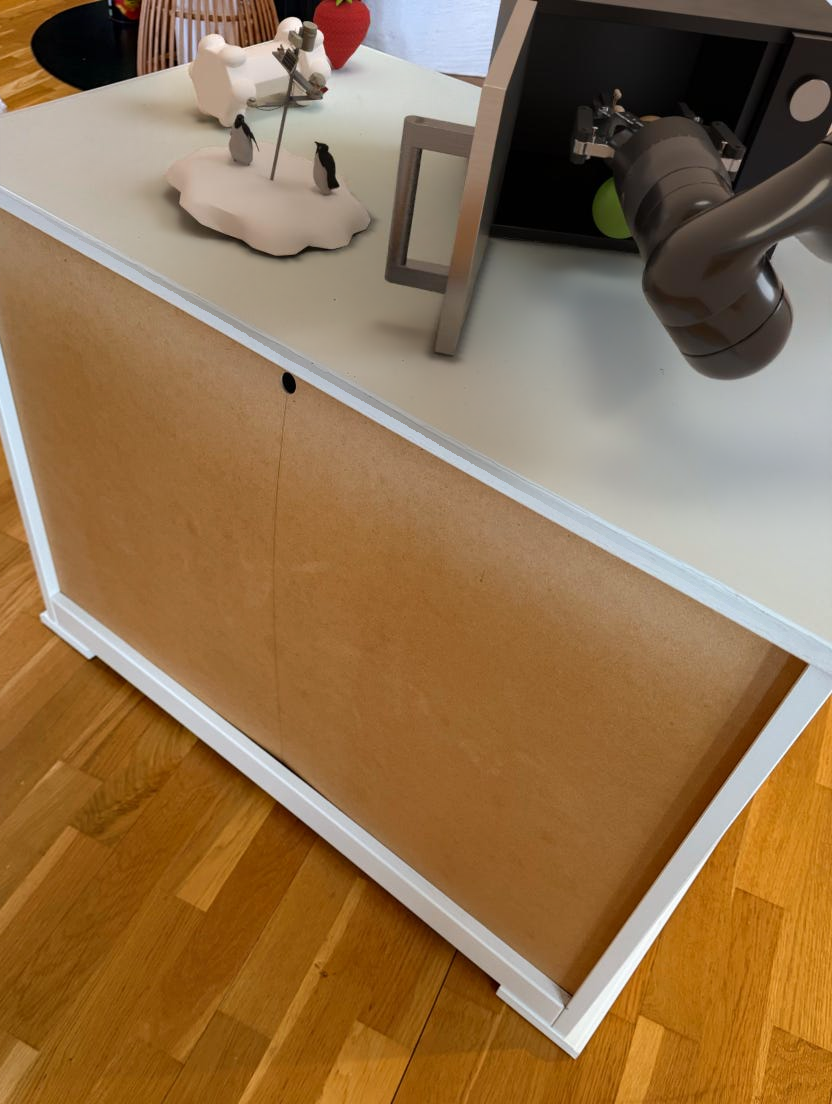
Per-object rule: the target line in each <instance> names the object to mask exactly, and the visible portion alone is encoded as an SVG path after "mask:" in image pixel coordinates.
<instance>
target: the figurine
mask: <svg viewBox="0 0 832 1104" xmlns="http://www.w3.org/2000/svg"><path fill="white" fill-rule="evenodd" d="M317 28H318V27H317V25H316V24H314V22H312V21H306V20H305V21H303V22H302V27H300V28H299V34H297V33H296V32H295V31H296V29H295V31H294V30H290V31H289V35H288V40H289V41H290V42H291V43H292V44H291V43H290V44H291V45H294V46H295V47H296V49H294V50H292V51H295V52H294V53H293V52H292V51H291V50H290V49H289V48H288V49H287V50H286V52H284V50H285V49H284V48H283V47H282V44H280V47H282V48H277V51H272V54H273V55H274V57H275V58H276V59H277V60H278V61H279V62H280V64H281V65H282V66H283V67H284V68H285V69H286V71H287V75H288V74H290V75H288V77H290V79H289V78H288V79H289V85H288V90H287V94H286V95H285V98H284V101H257V99H255V98H254V97H249V99H247V102H246V104H247V106H248V107H249V108H253V109H257V110H261V111H265V112H267V111H268V112H270V111H274V110H277V109H279V108H283V111H282V116H281V121H280V127H279V130H278V131H279V132H278V137H277V142H276V144H274V143H270V142H266V141H260V142H258V143H257V140H256V138H255V135H254V133H253V132H252V131H251V128H250V127H249V125H248V123H246V122H245V117H244V116H243V115H242V114H238V115H237V116H236V119H235V122H234V123H233V125H232V127H231V130H230V132H229V133H230V134H229V135H230V138H229V141H228V146H216V145H215V146H209V147H204V148H200V149H196V150H194V151H193V152H192V153H190V154H188V155H187V156H185V157H183V158H181V159H179V160H176V161H174V162H173V163H172V164H171V165H170V166H169V168H168V169H167V170H166V171H165V173H164V174H163V177H164V178H165V180H166V181H167V182H168V183H169V185H171V186H172V187H174V189H176V190H177V191H179V193H180V196H179V204H178V205H180V206H181V207H182V208H183V209H184V210H185V211H186V212H187V213H189V214H190V215H191V216H192V218H194V219H195V220H196V221H197V222H198V223H199V224H200V225H203V226H205V227H207V228H209V229H212V230H214V231H217V232H220V233H222V234H224V235H228V236H230V237H232V238H233V237H234V238H236V239H238V240H241V241H243V242H245V243H246V244H247V245H249V247H251V248H253V249H255V250H258V251H262V252H264V253H267V254H269V255H273V256H275V257H276V256H289V255H290V256H291V255H296V254H298V253H299V252H301V251H302V250H303V249H305V248H307V247H308V246H309V247H316V248H321V249H328V250H335V249H339V248H343V247H346V246H349V244H350V242H351V240H352V237H353V235H354V234H356V233H359V232H362V231H364V230H367V229H368V227H369V224H370V222H371V218H370V215H369V213H368V210H367V208H365V206H364V205H363V204H362V203H361V202H360V201H359V200H358V199H357V198H356V197H355V196H354V195H353V194H352V193H351V192H350V188H349V187H350V186H349V183H348V180H347V179H346V178H345V177H344V176H342V175H341V174H339V173H338V172H336V169H337V168H336V161H335V159H334V156H333V155H332V153H331V152H329V151H330V150H329V149H330V147H329V145H328V144H327V143H324V142H319V141H315V140H314V144H315V145H316V149H315V153H314V158H313V159H314V160H313V161H312V160H309V159H306V158H304V157H302V156H298V155H297V154H294V153H291V152H289V151H288V150H286V149H285V148H284V147H282V146H281V144H282V139H283V133H284V129H285V125H286V124H285V123H286V118H287V113H288V110H289V109H290V108H292V106H293V102H296V101H309V100H315V101H321V100H323V99H324V95H325V94H326V93H327V92H328V91H329V90H330V89H329V88H328V87H327V86H326V85H327V82H326V81H325V77H324V76H323V75H322V74H321V73H317V72H315V73H313V74H312V75H311V76H310V77H309V81H307V80H306V79H305V78H304V77H303V76H302V75H301V74H300V73H299V72H298V71H297V70H296V67H297V63H298V61H299V58H298V55H299V53H300V51H299V48H300V49H301V50H303V51H306V52H312V51H313V48H314V44H315V39H316V36H317ZM291 45H290V46H291ZM291 47H293V46H291ZM293 48H294V47H293ZM293 79H294V80H295V81H296V82H298V83H299V84H300V85H301V86H302V87H303V88H304V89H305V90H306V92H305V93H306V94H307V95H306V96H293V95H294V94H293V93H292V84H293V85H294V83H295V82H294V81H293ZM293 82H294V83H293ZM295 84H296V83H295ZM298 88H299V87H298ZM299 89H300V88H299ZM301 90H302V89H301ZM302 91H303V90H302ZM293 92H294V88H293ZM291 93H292V96H290V95H291ZM263 108H274V109H263ZM253 143H254V144H253Z"/></svg>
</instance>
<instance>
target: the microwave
mask: <svg viewBox="0 0 832 1104" xmlns="http://www.w3.org/2000/svg"><path fill="white" fill-rule="evenodd" d="M517 1H518V0H500V3H499V8H498V14H497V19H496V25H495V30H494V35H493V40H492V46H491V47H492V48H491V51H490V57H489V64H488V67H487V68H488V69H487V72H488V71H489V69H490V66H491V64H492V61H493V59H494V56H495V54H496V52H497V49H498V47H499V44H500V42H501V39H502V37H503V35H504V32H505V30H506V27H507V25H508V22H509V20H510V18H511V15H512V13H513V10H514V8H515V5H516V3H517ZM531 1H537V8H536V12H535V17H534V22H533V27H532V32H531V36H530V41H529V46H528V51H527V56H526V60H525V65H524V70H523V75H522V80H521V84H520V89H519V94H518V99H517V104H516V108H515V113H514V118H513V123H512V128H511V132H510V137H509V142H508V147H507V152H506V156H505V161H504V166H503V171H502V176H501V180H500V185H499V190H498V195H497V200H496V204H495V209H494V214H493V219H492V224H491V228H490V233H489V237H495V238H500V239H501V238H503V239H510V240H519V241H529V242H536V243H545V244H552V245H560V246H570V247H578V248H586V249H596V250H601V251H602V250H603V251H610V252H619V253H628V254H635V255H636V254H638V255H641V254H640V251H639V248H638V245H637V242H636V241H635V240H634V238H633V237H632V236H631V237H628V238H623V239H616V238H611V237H609V236H607V235H605V234H604V233H602V232H601V231H600V230H599V228H598V227H597V225H596V224H595V221H594V218H593V211H592V209H593V202H594V198H595V196H596V194H597V192H598V190H599V189H600V187H601V186H602V185H603V184H604V183H605V182H606V181H607V180H609V179H610V178H612V177H613V169H611V168H610V167H609V166H607V165H606V164H605V162H604V158H603V157H597V156H590V159H585V162H584V163H583V164H574V163H572V162H571V161H570V138H571V134H572V132H573V128H574V124H575V120H576V116H577V110H578V107H579V106H588V107H590V108H591V104H592V100H593V99H594V98H596V99H598V98H599V95H600V93H604V94H609V97H610V99H611V102H612V105H613V101H614V105H615V101H616V99H615V100H614V97H615V96H614V95H613V94H614V91H615V90H616V89H618V90H619V91H620V93H621V98H620V99H617V101H616V105H619V106H621V107H623V108H624V110H625V111H628V112H630V113H631V114H633V115H635V116H636V117H638V118H642V117H645V116H657V117H660V118H664V117H671V116H672V115H673V112H674V109H675V106H676V104H677V102H681V103H686V104H687V106H688V108H689V109H690V110H692V111H693V112H694V113H695V115H696V116H699V117H700V118H702V119H703V120H704V121H703V125H705V126H709V127H711V124H712V122H715V121H716V122H717V121H721V122H723V123H724V124H726V125H727V127H728V128H729V129H730V130H731V131H732V132H733V134H734V135H735V136H736V137H737V138H738V139H739V141H740V142H741V143H742V144H743V145H744V146H745V148H746V150H745V153H744V156H743V158H742V161H741V163H740V166H739V169H738V171H737V174H736V176H735V179H734V181H731V186H732V189H733V191H734V193H735V195H736V194H738V193H740V192H742V191H744V190H746V189H748V188H749V187H751V186H753V185H755V184H757V183H758V182H760V181H762V180H764V179H766V178H767V177H769V176H771V175H773V174H775V173H776V172H778V171H780V170H782V169H784V168H785V167H787V166H789V165H790V164H792V163H794V162H795V161H797V160H798V159H800V158H801V157H802V156H804V155H805V154H806V153H807V152H808V151H809V150H811V149H812V148H813V147H814V146H816V145H817V144H818V143H819V142H820V141H821V140H822V139H824V138H825V137H826V136H827V135H828V134H829V131H830V128H831V127H832V4H831V3H830V2H829V1H828V0H531ZM616 105H615V106H616ZM626 128H627V127H626ZM778 243H779V242H778ZM778 243H776V244H774V245H773V246H772V247H771V248H769V249H768V250H767V251H766V252H765V253H766V254H767V256H768V258H769V260H770V261H771V260H772V257H773V255H774V253H775V251H776V249H777V246H778Z"/></svg>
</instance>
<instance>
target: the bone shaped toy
mask: <svg viewBox="0 0 832 1104" xmlns="http://www.w3.org/2000/svg"><path fill="white" fill-rule="evenodd" d="M302 26H303V22H302V21H301V19H300V18H298V17H295V16H290V17H287V18H285V19H283V20H282V21H281V22H280V23H279V24H278V26H277V28H276V33H275V36H274V38H273V41H272V42H270V43H266V44H262V45H258V46H254V47H249V48H242V47H241V46H239V45H231V44H229V43H226V41H225V39H224V37H223V36H222V35H220V34H217V33H211V34H210V33H209V34H208V35H205V36H204V37H203V38H202V39H200V40H199V43H198V45H197V53H196V56H195V58H194V60H192V61H191V62H190V63H189V65H188V70H187V72H188V73H187V74H188V77H189V79H190V80H191V82H192V85H193V88H194V91H195V94H196V98H197V101H198V103H197V107H198V110H199V111H200V112H201V113H202V114H203V115H205V116H212V117H215V118H217V119H218V121H219V123H220V125H221V126H223V127H226V128H232V125H233V123H234V122H235V119H236V116H237V115H238V114H242V115H243V116H244V118H245V117H246V112H247V109H248V107H249V106H247V104H246V102H247V99H249V97H254V98H255V99H256V100H257V99H260V98H265V97H268V96H271V95H272V96H273V95H276V94H281V95H285V96H286V94H287V90H288V85H289V79H290V77H288V75H290V74H288V75H287V71H286V69H285V68H284V67H283V66H282V65H281V64H280V62H279V61H278V60H277V59H276V58H275V57H274V55H273V54H272V51H277V48H282V47H283V48H284V49H285V50H284V52H286V50H287V49H288V48H289V49H290V50H291V51H292V50H294V49H296V47H295V46H294V45H291V44H292V43H291V42H290V41H289V40H288V35H289V31H290V30H294V31H295V29H296V31H295V32H296V33H297V34H299V28H300V27H302ZM323 40H324V36H323V34H322V32H321V31H320V30H318V29H317V36H316V39H315V44H314V48H313V51H312V52H306V51H303V50H301V49H300V48H299V51H300V53H299V55H298V58H299V61H298V63H297V67H296V70H297V71H298V72H299V73H300V74H301V75H302V76H303V77H304V78H305V79H306V80H307V81H309V77H310V76H311V75H312V74H313V73H315V72H317V73H321V74H322V75H323V76H324V77H325V81H326V83H327V82H328V81H329V80H330V79H331V77H332V76H331V75H332V68H331V65H330V63H329V60H328V57H327V56H326V54H325V50H324V46H323ZM290 43H291V44H290ZM280 44H282V47H280ZM290 45H291V46H293V47H294V48H293V47H291V46H290ZM292 52H293V53H294V52H295V51H292ZM288 78H289V79H288ZM293 81H294V82H295V83H296V84H295V83H294V82H293V83H294V85H293V84H292V93H293V94H294V95H293V96H306V95H307V94H306V93H305V92H306V90H305V89H304V88H303V87H302V86H301V85H300V84H299V83H298V82H296V81H295V80H294V79H293ZM298 87H299V88H300V89H299V88H298ZM293 88H294V92H293ZM301 89H302V90H303V91H302V90H301ZM292 93H291V95H290V96H292ZM315 101H316V100H309V101H295V102H296V104H297V105H299V106H309V105H312V104H313V103H315Z"/></svg>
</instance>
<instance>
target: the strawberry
mask: <svg viewBox="0 0 832 1104" xmlns="http://www.w3.org/2000/svg"><path fill="white" fill-rule="evenodd" d="M312 20H313V23H314V24H316V25H317V27H318V28H317V29H318V30H320V31H321V32H322V34H323V36H324V40H323V46H324V50H325V54H326V58H327V60H328V61H329V62H330V64H331V66H332V67H333V68H334V69H337V70H339V69H341V68H343V67H344V66H345V64H346V63H347V61H348V60H349V59H351V57H352V56H353V55H354V54H355V53H356V51H357V50H358V48H359V47H360V46H361V45H362V43H363V42H364V41H365V39H366V37H367V34H368V31H369V28H370V26H371V12H370V9H369V8H368V6H367V5H366V4H365V3H364V2H362V1H360V0H322V1H321V2H320V3H319V4H318V5H317V6H316V8H315V11H314V15H313V19H312Z"/></svg>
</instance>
